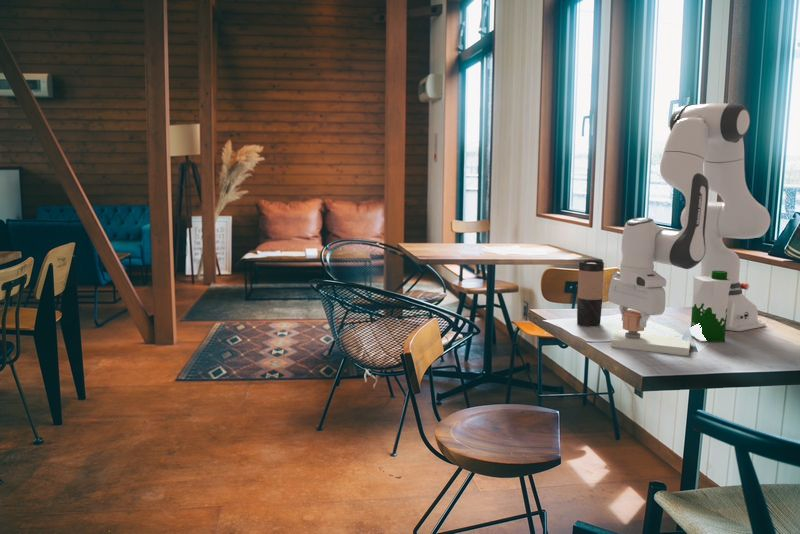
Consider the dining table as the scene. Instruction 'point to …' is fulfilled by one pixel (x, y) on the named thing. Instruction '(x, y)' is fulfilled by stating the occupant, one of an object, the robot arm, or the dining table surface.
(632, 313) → the cap
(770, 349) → the dining table surface
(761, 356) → the dining table surface
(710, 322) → the milk carton
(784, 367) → the dining table surface
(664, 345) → the post board
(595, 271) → the travel mug
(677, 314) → the dining table surface
